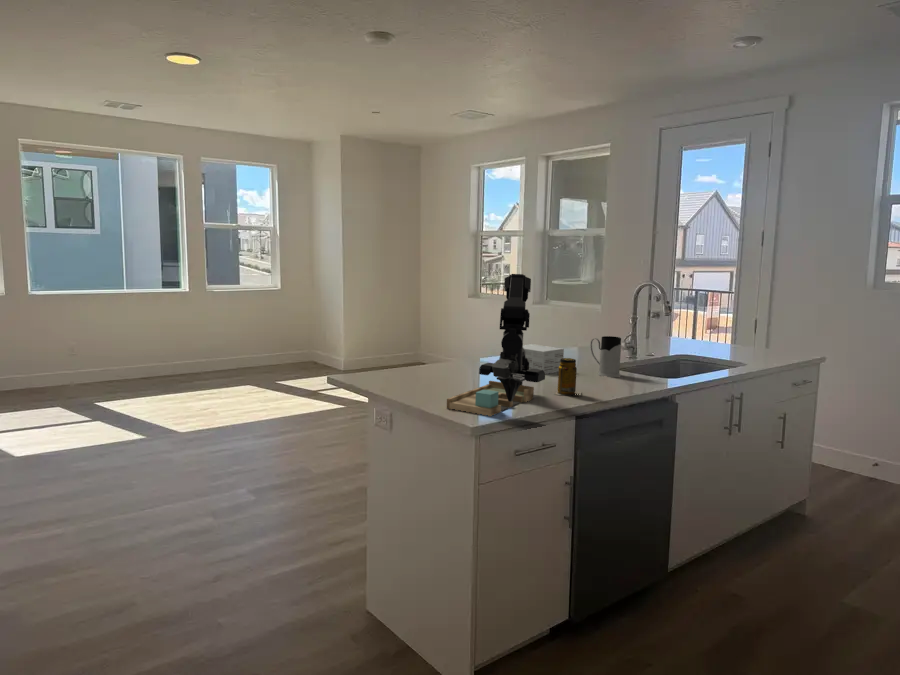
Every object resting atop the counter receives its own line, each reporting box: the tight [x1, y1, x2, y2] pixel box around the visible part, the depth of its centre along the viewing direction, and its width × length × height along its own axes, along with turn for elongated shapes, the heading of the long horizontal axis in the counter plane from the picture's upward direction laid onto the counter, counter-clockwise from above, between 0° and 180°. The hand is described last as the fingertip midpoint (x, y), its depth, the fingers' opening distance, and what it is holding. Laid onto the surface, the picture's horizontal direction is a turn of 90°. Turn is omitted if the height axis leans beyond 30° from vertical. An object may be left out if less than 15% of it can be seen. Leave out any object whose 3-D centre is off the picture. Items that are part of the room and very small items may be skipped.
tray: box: [446, 380, 535, 417], centre depth 200 cm, size 28×16×4 cm, turn 149°
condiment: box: [554, 357, 581, 397], centre depth 217 cm, size 7×8×12 cm
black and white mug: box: [590, 335, 622, 378], centre depth 255 cm, size 9×14×15 cm, turn 39°
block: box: [475, 390, 499, 408], centre depth 190 cm, size 5×5×4 cm
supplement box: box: [523, 343, 565, 375], centre depth 261 cm, size 17×13×9 cm
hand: (510, 401), depth 186 cm, fingers closed
